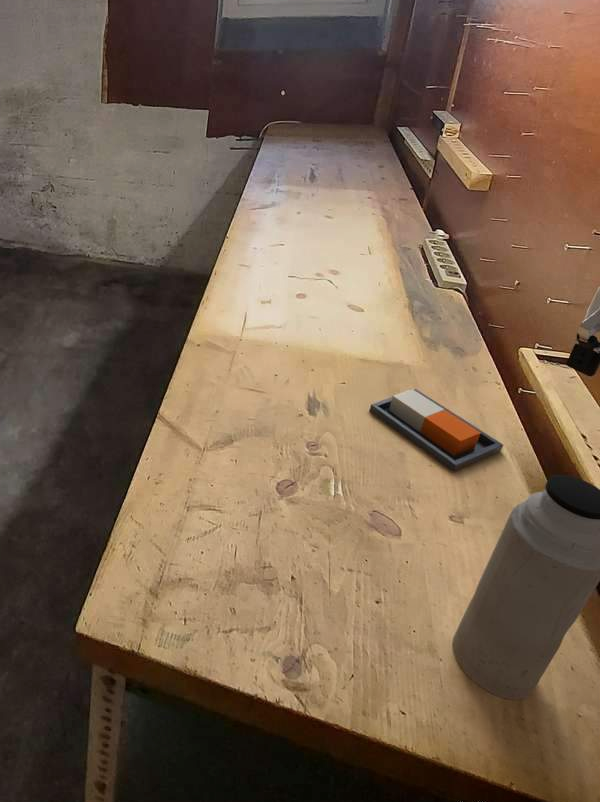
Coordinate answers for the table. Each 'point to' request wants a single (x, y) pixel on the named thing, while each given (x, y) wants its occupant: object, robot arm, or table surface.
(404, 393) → the grey pad
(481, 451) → the tray
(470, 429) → the orange pad
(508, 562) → the thermos bottle
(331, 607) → the table surface
